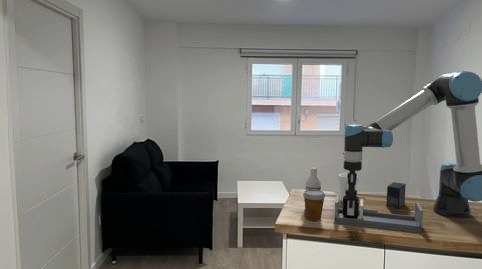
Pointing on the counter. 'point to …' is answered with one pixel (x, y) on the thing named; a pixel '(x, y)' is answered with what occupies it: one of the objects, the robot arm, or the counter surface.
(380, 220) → the tray
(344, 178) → the foam cup
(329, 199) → the counter surface
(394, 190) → the small box
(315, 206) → the disposable coffee cup
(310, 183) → the bath foam
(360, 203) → the pusher
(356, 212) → the supplement bottle
